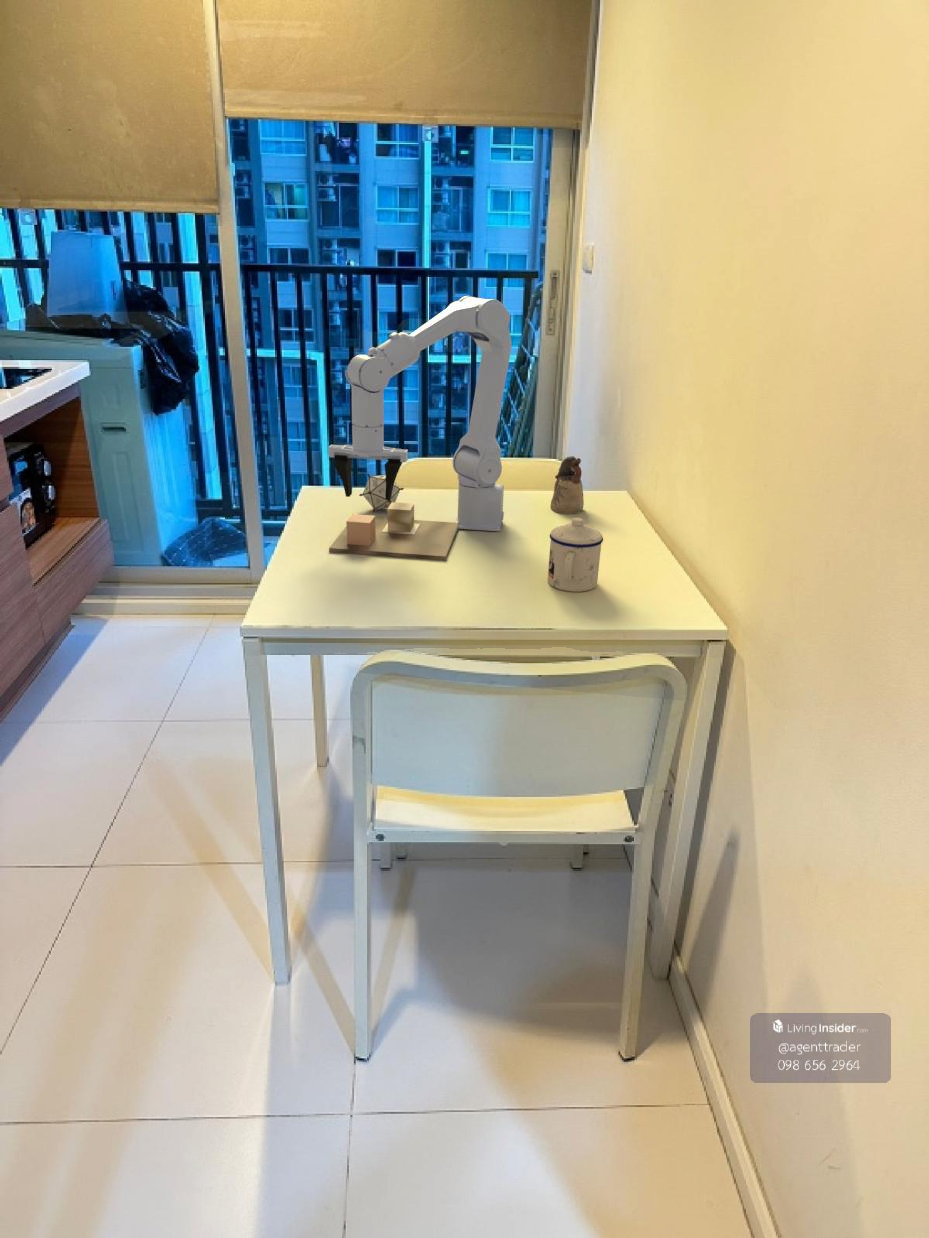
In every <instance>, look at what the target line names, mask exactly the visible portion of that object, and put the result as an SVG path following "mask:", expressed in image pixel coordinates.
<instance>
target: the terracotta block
mask: <svg viewBox="0 0 929 1238" xmlns="http://www.w3.org/2000/svg"><path fill="white" fill-rule="evenodd" d="M375 517H376V515H371V514H370V515H369V514H355V513H352V514H351V515H350V516H349V517H348V519H347V520H346V522H345V523H346V526H347V544H352V545H366V546H371V544H372V543H373V541H374V540H375V538H376V534H375Z"/></svg>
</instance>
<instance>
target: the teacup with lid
mask: <svg viewBox="0 0 929 1238" xmlns="http://www.w3.org/2000/svg"><path fill="white" fill-rule="evenodd" d="M549 538H550V541H549V542H550V543H549V544H550V545H549V554H548V556H549V558H548V570H547V582H548V584H549V585H550V586H551V587H552V588H555V589H557V590H560V591H564V592H572V593H581V592H582V593H583V592H588V591H591V590H594V588H596V587H597V585H598V579H599V572H600V571H599V570H600V562H601V561H600V560H601V553H602V552H601V549H602V543H603V542H604V537H603V534H602V533H601V531H599V530H598V529H596V528H593V527H591V526H589V525H588V524H586V523H585V520H584V519H583V518H581V517H573V519H572V520H571V522H570V523H567V524H565V525H560V526H556V527H555V528H553V529H551V531H550V534H549Z"/></svg>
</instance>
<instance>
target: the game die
mask: <svg viewBox="0 0 929 1238" xmlns="http://www.w3.org/2000/svg"><path fill="white" fill-rule="evenodd" d="M366 476H367V477H368V480H367V482H366V484H365V486H364V490H363V492H362V493H359V495H358V496H359V497H362V496H363V497H364V498H365V500H366V501H367V502H368V503H369V505H370V506H371V507H372V508H373V509H372V513H373V514H374V513H375V512H376V510H380V509H381V510H382V509H388V507H389V506H390V504H391V503H392V502H396V501H397V499H398V496H399V493H400V491H404V489H405V488H404V487H399V485H398V484H397V483H396V482H394V485H393V490H392V496H391V498H390V500H386V496H385V493H386V474H380V475H371V474H370V473H366Z"/></svg>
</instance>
